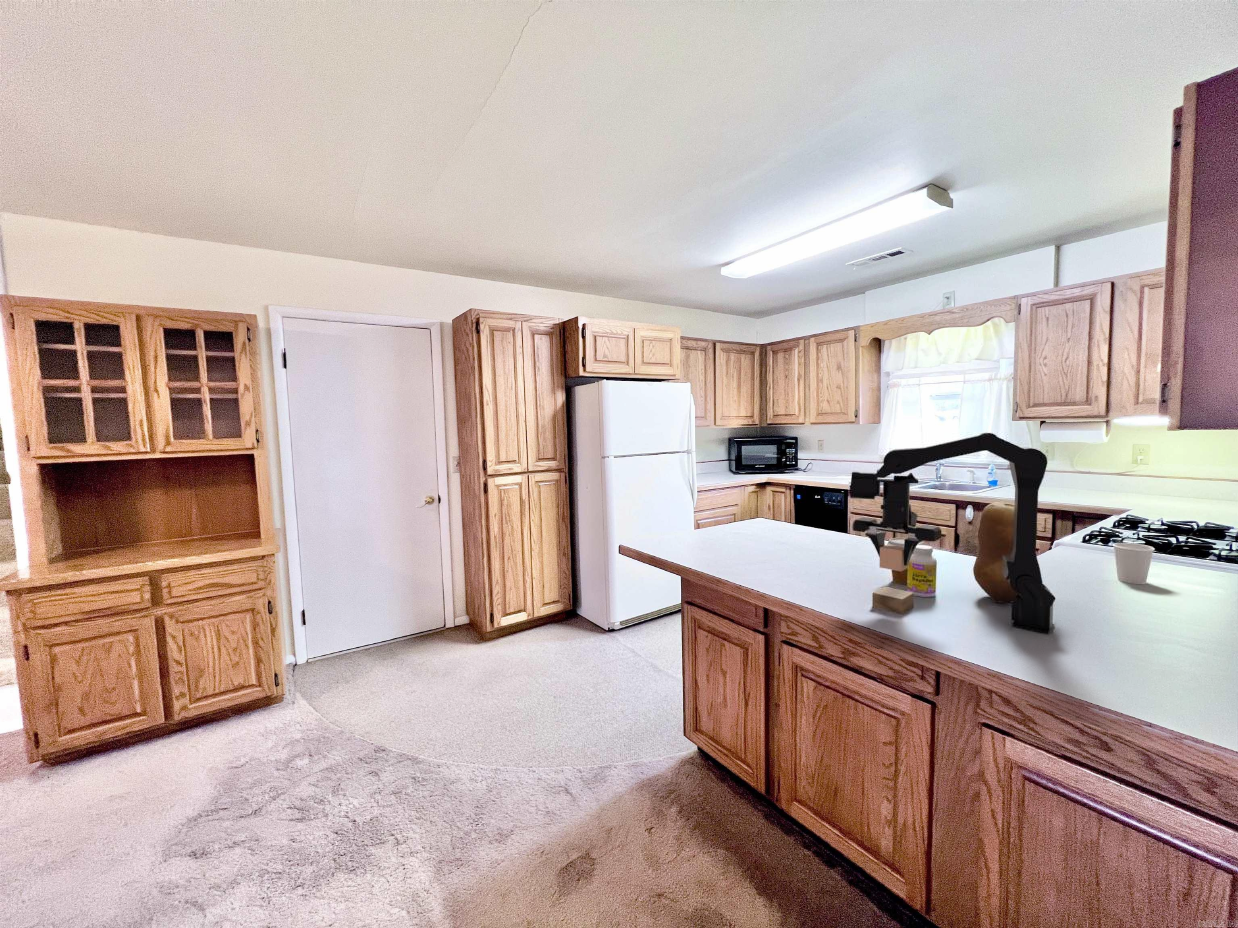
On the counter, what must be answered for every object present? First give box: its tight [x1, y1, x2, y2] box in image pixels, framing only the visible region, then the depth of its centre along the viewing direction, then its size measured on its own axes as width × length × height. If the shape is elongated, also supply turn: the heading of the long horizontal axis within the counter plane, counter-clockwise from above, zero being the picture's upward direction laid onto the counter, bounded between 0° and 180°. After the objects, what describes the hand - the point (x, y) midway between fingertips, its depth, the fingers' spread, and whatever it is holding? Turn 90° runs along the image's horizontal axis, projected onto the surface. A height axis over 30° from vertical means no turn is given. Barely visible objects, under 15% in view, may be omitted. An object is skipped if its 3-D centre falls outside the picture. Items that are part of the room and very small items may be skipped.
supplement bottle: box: [906, 544, 938, 598], centre depth 137 cm, size 7×7×13 cm
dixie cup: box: [1112, 542, 1156, 585], centre depth 145 cm, size 8×8×10 cm
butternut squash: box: [972, 501, 1019, 603], centre depth 131 cm, size 14×13×25 cm
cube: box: [879, 543, 909, 571], centre depth 127 cm, size 5×5×5 cm
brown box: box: [871, 586, 915, 615], centre depth 128 cm, size 7×7×4 cm
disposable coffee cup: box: [886, 537, 925, 586], centre depth 148 cm, size 10×10×12 cm
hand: (894, 563), depth 127 cm, fingers closed on cube, 5 cm apart
